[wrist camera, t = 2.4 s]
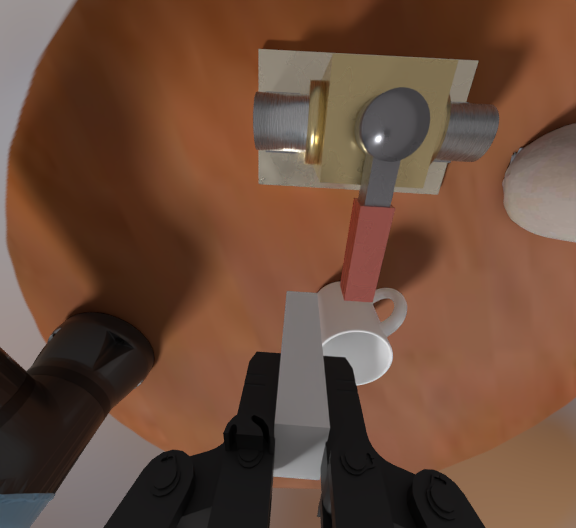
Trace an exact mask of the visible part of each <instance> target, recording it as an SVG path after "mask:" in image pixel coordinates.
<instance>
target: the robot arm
mask: <svg viewBox="0 0 576 528" xmlns="http://www.w3.org/2000/svg"><path fill="white" fill-rule="evenodd" d="M153 363H154V354H153V350H152V347H151V345H150V344H149V342H148V341H147V339H146V338H145V337H144V336H143V335H142V334H141V333H140V332H139V331H138V330H137V329H136V328H134V327H133V326H132V325H130V324H128V323H127V322H125V321H123V320H121V319H119V318H116V317H114V316H110V315H107V314H102V313H92V312H90V313H81V314H77V315H74V316H72V317H70V318H69V319H67V320H66V321H65V322H64V323H62V324H61V325H60V326H59V327H57V328H56V329H55V330H54V331H53V333H52V334H51V336H50V337H49V340H48V343H47V344H46V345H45V347H44V348H43V349H42V351H41V352H40V354H39V355H38V357H37V358H36V360H35V362H34V363H33V365H32V366H31V367H30V368H29V369H28V370H27V371H25V370H24V369H23V368H22V367H21V366H20V365H19V364H18V363H17V362H16V361H15V360H13V359H12V358H11V357H10V356H9V355H8V354H7V353H6V352H5V351H4V350H3V349H2V348H0V528H30V526H31V525H32V524H33V522H34V521H35V520H36V518H37V517H38V516H39V514H40V513H41V512H42V511H43V509H44V508H45V507H46V505H47V504H48V502H49V501H51V500H52V499H53V498H54V496H55V493H56V491H57V490H58V488H59V487H60V485H61V484H62V482H63V481H64V479H65V478H66V476H67V474H68V473H69V472H70V470H71V469H72V467H73V466H74V464H75V463H76V461H77V459H78V458H79V456H80V455H81V453H82V452H83V450H84V449H85V447H86V446H87V444H88V443H89V441H90V440H91V438H92V437H93V435H94V434H95V433H96V431H97V429H98V428H99V427H100V425H101V424H102V422H103V421H104V419H105V417H106V416H107V415H108V413H109V412H110V410H111V409H112V408H113V407H114V406H115V405H117V404H118V403H119V402H120V401H121V400H122V399H123V398H124V397H126V396H127V395H128V394H129V393H130V392H131V391H132V390H133V389H135V388H136V387H137V386H139V385H140V384H141V383H142V382H143V381H144V380H145V378H146V377H147V375H148V373H149V372H150V370H151V369H152V367H153ZM223 434H224V443H223V444H221V445H220V446H218V447H217V448H215V449H212V450H210V451H207V452H203V453H200V454H196V455H193V456H189V455H187V454H186V453H185V452H183V451H179V450H170V451H167V452H163V453H161V454H160V455H158V456H157V457H155V458H154V459H152V460H151V461H150V463H149V464H148V465H147V466H146V467H145V468H144V469H143V471H142V472H141V474H140V475H139V477H138V478H137V480H136V481H135V483H134V484H133V485H132V487H131V488H130V490H129V491H128V493H127V494H126V496H125V497H124V498H123V500H122V502H121V503H120V504H119V506H118V507H117V509H116V510H115V512H114V513H113V514H112V516H111V517H110V519H109V520H108V522H107V524H106V525H105V526H104V528H269V526H270V514H271V513H270V512H271V500H272V485H273V476H275V477H287V478H300V479H312V480H320V475H321V489H322V494H321V498H320V502H319V507H318V515H317V516H318V517H321V528H485V526H484V525H483V523H482V522H481V520H480V519H479V517H478V515H477V514H476V512H475V511H474V509H473V507H472V506H471V504H470V503H469V501H468V500H467V498H466V497H465V495H464V493H463V492H462V491H461V490H460V488H459V487H458V486H457V485H456V484H455V483H454V482H453V481H452V480H451V479H449V478H448V477H447V476H446V475H444V474H442V473H440V472H438V471H435V470H428V469H424V470H422V471H420V472H418V473H417V474H416V475H415V474H413V473H411V472H408V471H406V470H404V469H402V468H399V467H397V466H395V465H393V464H391V463H389V462H388V461H386V460H385V459H383V458H382V457H381V456H380V455H379V454H378V453H377V452H376V451H375V449H374V448H373V447H372V445H371V443H370V441H369V439H368V436H367V432H366V428H365V423H364V418H363V414H362V409H361V404H360V400H359V395H358V391H357V386H356V383H355V377H354V372H353V368H352V366H351V365H350V364H349V362H348V361H347V359H346V358H345V357H334V356H323V348H322V338H321V328H320V317H319V307H318V296H317V293H308V292H293V291H287V295H286V306H285V317H284V327H283V338H282V349H281V353H269V352H256V353H255V355H254V356H253V357H252V359H251V360H250V361H249V365H248V370H247V375H246V379H245V383H244V387H243V392H242V396H241V401H240V405H239V409H238V414H237V415H236V416H234V417H233V418H232V419H231V420H230V422H229V423H228V424H227V426H226V428H225V430H224V433H223Z"/></svg>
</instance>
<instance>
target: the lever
mask: <svg viewBox="0 0 576 528" xmlns="http://www.w3.org/2000/svg"><path fill="white" fill-rule="evenodd" d="M429 125H430V110H429V107H428V104H427V102H426V100H425V99H424V97H423V96H422V95H421V94H420V93H419V92H417V91H416V90H414V89H411V88H406V87H398V88H394V89H390V90H388V91H386V92H384V93H382V94H380V95H378V96H375V97H374V98H372V99H370V100H369V101H368V102H367V103H366V104H365V105H364V106H363V107H362V109H361V110H360V112H359V114H358V116H357V119H356V122H355V128H354V134H355V139H356V142H357V145H358V146H359V148H360V149H361V151H362V152H364V153H365V154H366V156H365V162H364V168H363V174H362V179H361V185H360V191H359V197H358V198H354V202H353V208H352V214H351V220H350V227H349V233H348V239H347V245H346V251H345V257H344V263H343V269H342V275H341V282H340V287H341V291H342V295H343V298H344V301H358V302H373V299H374V295H375V291H376V287H377V282H378V278H379V274H380V270H381V266H382V261H383V257H384V253H385V249H386V245H387V240H388V236H389V232H390V228H391V224H392V219H393V215H394V211H395V208H394V207H393V206H392V205H391V201H392V196H393V192H394V188H395V183H396V179H397V174H398V170H399V166H400V161H401V160H402V159H404V158H406V157H408V156H410V155H411V154H412V153H414V152H415V151H416V150H417V149H418V148H419V147H420V145H421V144H422V143H423V141H424V139H425V137H426V135H427V133H428V130H429Z"/></svg>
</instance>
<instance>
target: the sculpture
mask: <svg viewBox="0 0 576 528" xmlns="http://www.w3.org/2000/svg"><path fill="white" fill-rule="evenodd" d="M502 184H503V191H504V207H505V209H506V211H507V214H508V215H509V217H510V218H511V220H512V221H514V222H515V223H517V224H518V225H519V226H521V227H522V228H524V229H526V230H528V231H530V232H532V233H534V234H537V235H540V236H544V237H549V238H554V239H559V240H564V241H571V242H576V123H574V124H570V125H567V126H564V127H561V128H559V129H556V130H554V131H552V132H550V133H547V134H545V135H543V136H542V137H540V138H538V139H537V140H535V141H534V142H532V143H531V144H529V145H528V146H526V147H525V148H520V149H519V151H518V153H517V154H516V155H515V154H514V156H513V155H512V158H511V162H510V166H509V167H508V169H507V171H506V173H505V178H504V180H503V183H502Z"/></svg>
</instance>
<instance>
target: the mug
mask: <svg viewBox="0 0 576 528" xmlns="http://www.w3.org/2000/svg"><path fill="white" fill-rule="evenodd" d="M340 282H341V281H339V282H334V283H331V284H328V285H326V286H324V287H323V288H322V289H321V290H319V292H318V293H317V296H318V307H319V317H320V328H321V338H322V348H323V356H334V357H345V358H346V359H347V361H348V362H349V364H350V365H351V366H352V368H353V372H354V377H355V383H356V385H362V384H366V383H369V382H372V381H374V380H376V379H378V378H379V377H381V376H382V375H383V374H384V373H385V372H386V371H387V370H388V369H389V367H390V365H391V363H392V359H393V351H392V348H391V346H390V343H389V341H388V339H387V336H389V335H391V334H392V333H393V332H395V331H396V330H397V329H398V328H399V327H400V326H401V324H402V323H403V321H404V319H405V317H406V313H407V303H406V300H405V298H404V296H403V295H402V294H401V293H400V292H399V291H397V290H395V289H392V288H380V289H377V290H376V291H375V295H374V299H373V302H358V301H344V298H343V295H342V291H341V287H340ZM385 298H389V299H391V300H392V301H393V302H394V310H393V312H392V314H391V315H390V316H389V317H388V318H387V319H386V320H384V321H383V322H380V320H379V318H378V315H377V313H376V311H375V308H374V306H373V303H375V302H377V301H379V300H381V299H385Z"/></svg>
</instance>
